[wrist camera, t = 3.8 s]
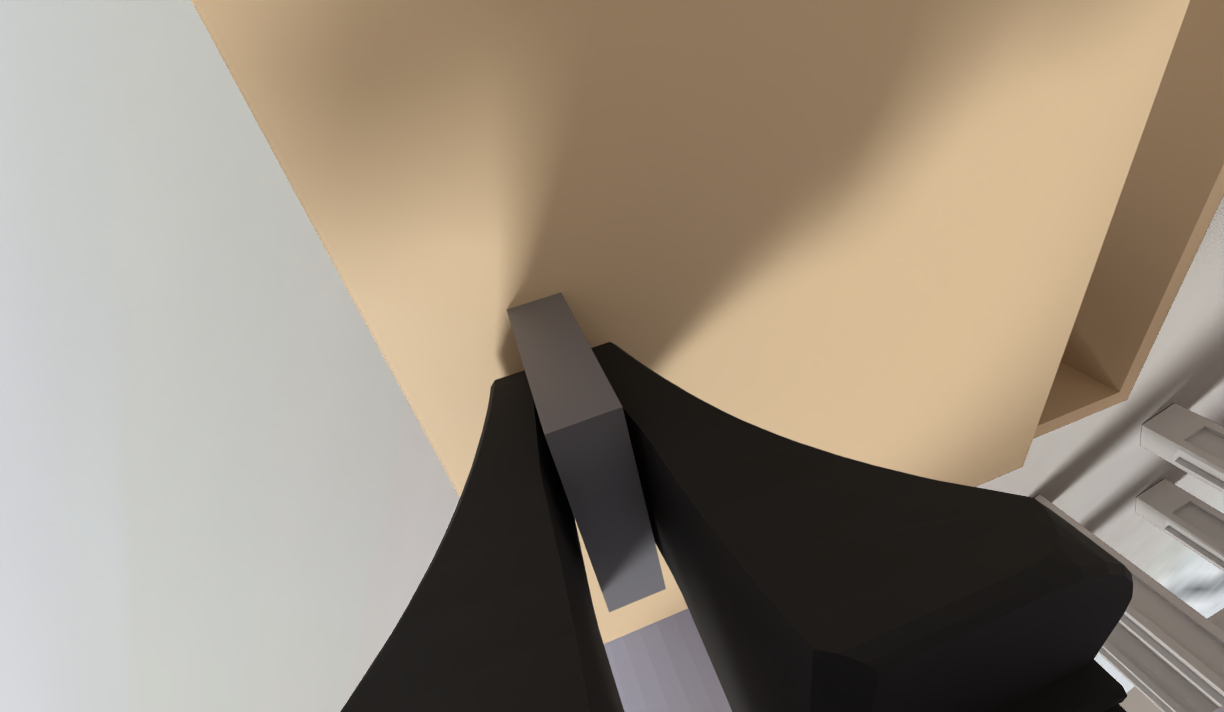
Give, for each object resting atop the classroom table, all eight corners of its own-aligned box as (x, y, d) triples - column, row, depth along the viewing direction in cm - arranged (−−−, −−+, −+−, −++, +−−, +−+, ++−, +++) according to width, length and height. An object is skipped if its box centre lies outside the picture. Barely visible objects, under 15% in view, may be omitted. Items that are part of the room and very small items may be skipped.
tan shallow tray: (1000, 333, 23) (1127, 399, 19) (656, 463, 20) (715, 570, 16) (1168, -292, 13) (1526, -448, 8) (524, -172, 10) (591, -306, 6)
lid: (1006, 454, 18) (1139, 551, 15) (546, 646, 16) (580, 813, 12) (1298, -437, 8) (1986, -806, 4) (70, -260, 5) (-530, -759, 2)
